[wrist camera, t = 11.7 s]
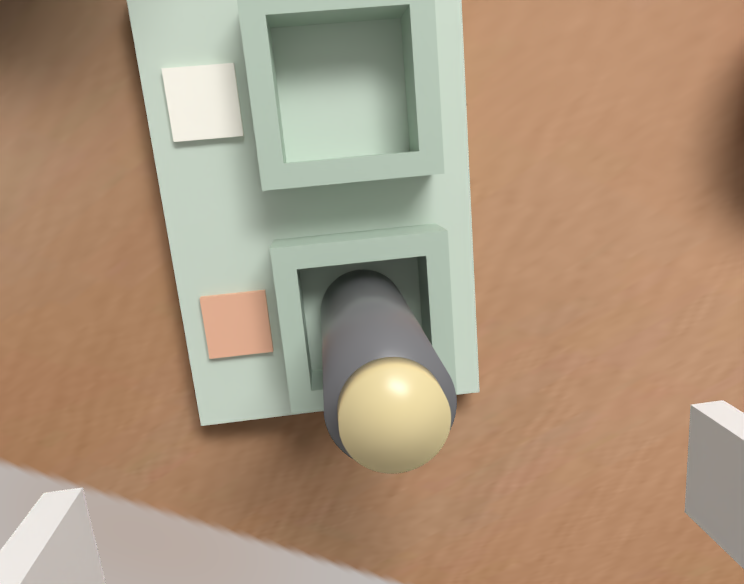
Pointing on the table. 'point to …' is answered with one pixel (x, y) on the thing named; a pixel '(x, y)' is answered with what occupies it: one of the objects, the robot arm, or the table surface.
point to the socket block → (306, 181)
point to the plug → (381, 376)
